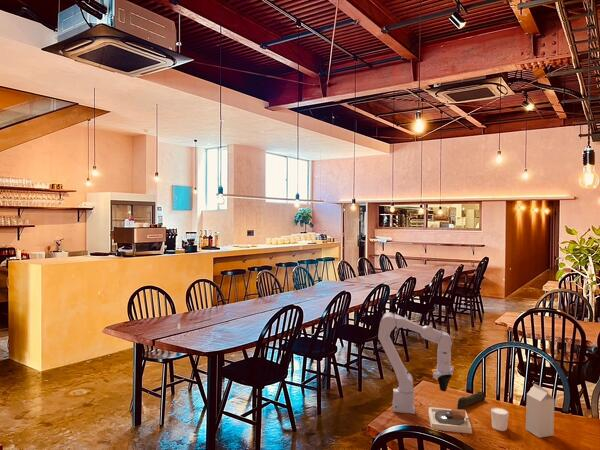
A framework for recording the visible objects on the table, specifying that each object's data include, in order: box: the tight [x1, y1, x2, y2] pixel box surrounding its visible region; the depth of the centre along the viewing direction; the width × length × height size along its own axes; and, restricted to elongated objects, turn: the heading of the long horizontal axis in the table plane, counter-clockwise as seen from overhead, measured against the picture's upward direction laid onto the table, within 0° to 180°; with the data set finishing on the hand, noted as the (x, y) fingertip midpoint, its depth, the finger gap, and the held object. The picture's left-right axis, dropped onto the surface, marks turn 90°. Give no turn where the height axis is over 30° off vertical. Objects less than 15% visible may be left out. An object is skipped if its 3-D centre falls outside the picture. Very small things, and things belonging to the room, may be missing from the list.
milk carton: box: [525, 383, 555, 439], centre depth 179 cm, size 7×7×19 cm
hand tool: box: [456, 391, 486, 410], centre depth 205 cm, size 19×4×5 cm, turn 123°
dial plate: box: [427, 406, 473, 435], centre depth 188 cm, size 16×16×2 cm
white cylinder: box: [490, 407, 510, 432], centre depth 183 cm, size 7×7×7 cm
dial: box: [435, 408, 467, 425], centre depth 187 cm, size 12×12×4 cm
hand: (443, 390), depth 195 cm, fingers closed
